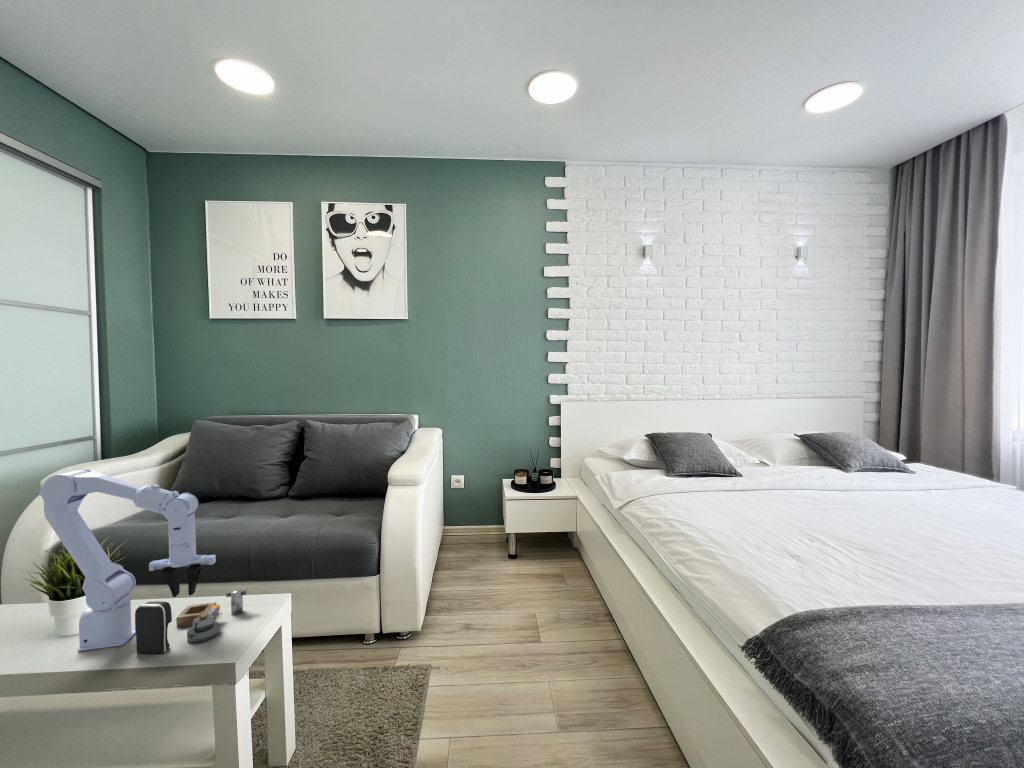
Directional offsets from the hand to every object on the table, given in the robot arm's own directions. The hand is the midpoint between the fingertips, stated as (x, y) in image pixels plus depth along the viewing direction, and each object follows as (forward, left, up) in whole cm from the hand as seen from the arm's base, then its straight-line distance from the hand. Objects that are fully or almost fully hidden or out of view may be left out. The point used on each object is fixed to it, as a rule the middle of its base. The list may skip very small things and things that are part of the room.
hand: (184, 594), depth 122 cm
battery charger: (-3, -8, -10) cm, 13 cm away
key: (+10, +7, -9) cm, 15 cm away
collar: (+6, -1, -7) cm, 9 cm away
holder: (+1, +6, -9) cm, 11 cm away
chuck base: (+6, -5, -9) cm, 12 cm away
